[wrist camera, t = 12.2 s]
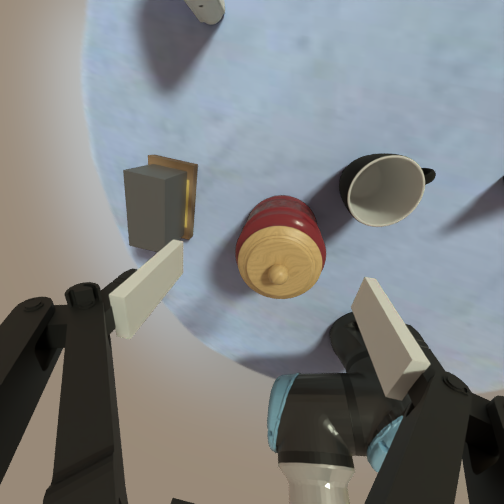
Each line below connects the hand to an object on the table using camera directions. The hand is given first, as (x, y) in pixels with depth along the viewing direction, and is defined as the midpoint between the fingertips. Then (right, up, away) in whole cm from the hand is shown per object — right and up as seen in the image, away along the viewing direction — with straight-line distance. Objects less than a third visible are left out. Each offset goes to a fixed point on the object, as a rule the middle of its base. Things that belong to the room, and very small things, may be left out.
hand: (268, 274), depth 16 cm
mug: (+18, +14, +20) cm, 31 cm away
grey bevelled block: (-16, +11, +25) cm, 31 cm away
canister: (+4, +6, +26) cm, 28 cm away
